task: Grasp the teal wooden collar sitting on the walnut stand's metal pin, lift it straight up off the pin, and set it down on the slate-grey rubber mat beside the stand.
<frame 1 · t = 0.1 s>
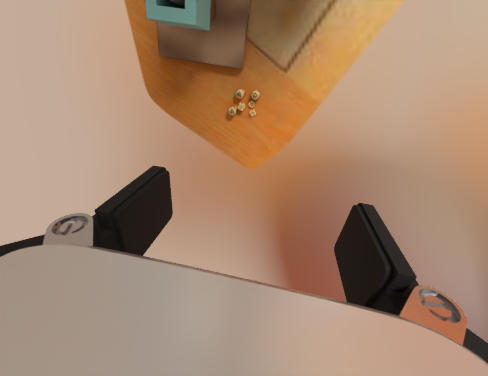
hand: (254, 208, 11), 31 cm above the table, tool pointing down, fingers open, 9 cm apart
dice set: (245, 100, 39), on the table
stand: (203, 9, 32), on the table
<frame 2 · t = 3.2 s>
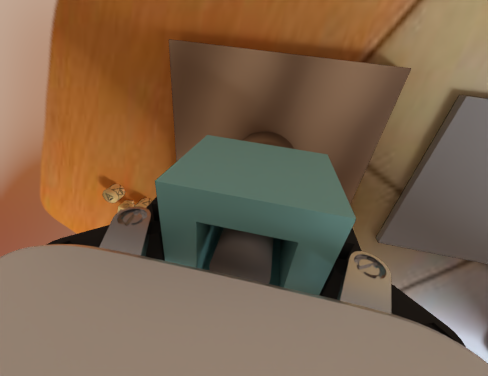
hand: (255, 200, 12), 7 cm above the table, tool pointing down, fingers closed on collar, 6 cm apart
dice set: (142, 204, 23), on the table
stand: (266, 156, 17), on the table
collar: (257, 194, 12), point 6 cm above the table, touching gripper, stand
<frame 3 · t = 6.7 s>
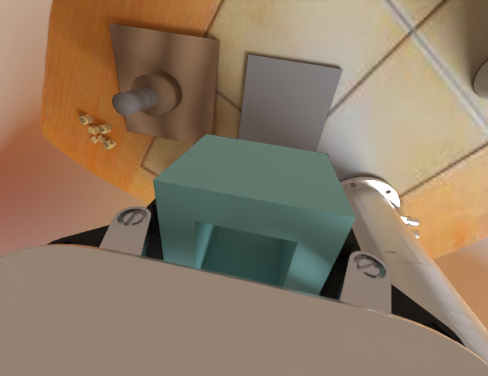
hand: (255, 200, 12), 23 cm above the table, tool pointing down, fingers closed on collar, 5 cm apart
mat: (283, 109, 31), on the table
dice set: (105, 130, 38), on the table
stand: (170, 90, 32), on the table
collar: (256, 194, 12), point 22 cm above the table, touching gripper
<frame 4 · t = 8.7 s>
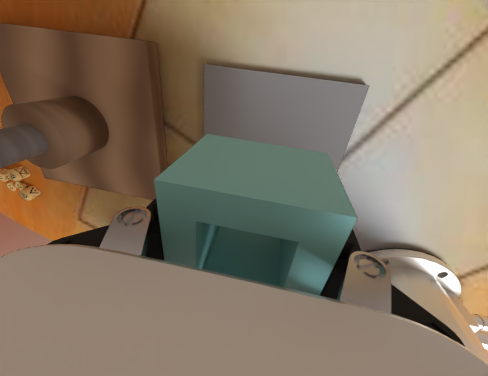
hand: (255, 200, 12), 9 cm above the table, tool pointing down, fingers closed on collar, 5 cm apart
mat: (270, 149, 19), on the table
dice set: (26, 173, 27), on the table
stand: (97, 121, 21), on the table
collar: (257, 194, 12), point 8 cm above the table, touching gripper
when the fingers open (3 cm above the table, at t = 10.4 s): collar drops 1 cm, resting on mat.
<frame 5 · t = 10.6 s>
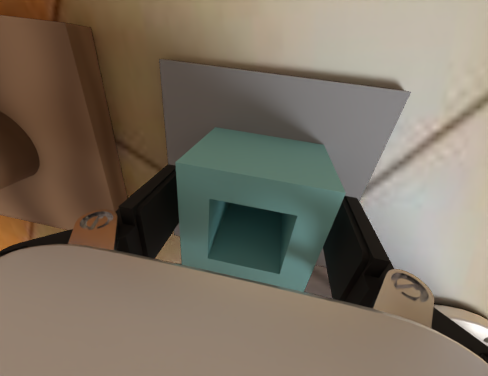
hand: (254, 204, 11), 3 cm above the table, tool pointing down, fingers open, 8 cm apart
mat: (260, 178, 14), on the table
stand: (28, 137, 15), on the table
collar: (260, 182, 13), point 1 cm above the table, touching mat
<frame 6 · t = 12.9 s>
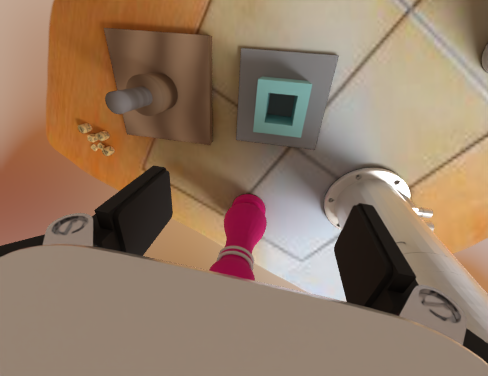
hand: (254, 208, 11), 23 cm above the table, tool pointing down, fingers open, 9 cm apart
mat: (281, 102, 30), on the table
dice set: (104, 137, 39), on the table
pepper mill: (249, 207, 40), on the table
stand: (166, 90, 32), on the table
collar: (281, 102, 29), point 1 cm above the table, touching mat
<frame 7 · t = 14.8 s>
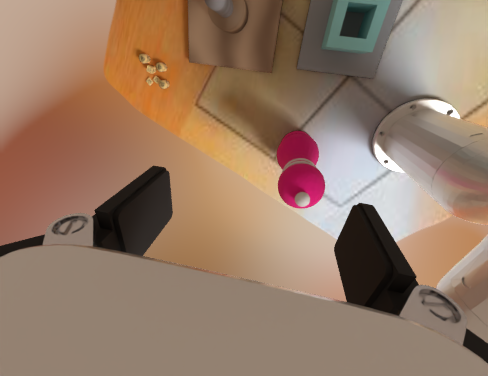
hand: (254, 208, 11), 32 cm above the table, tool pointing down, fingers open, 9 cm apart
mat: (346, 27, 31), on the table
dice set: (160, 72, 40), on the table
pepper mill: (296, 146, 42), on the table
stand: (234, 15, 33), on the table
collar: (347, 26, 31), point 1 cm above the table, touching mat
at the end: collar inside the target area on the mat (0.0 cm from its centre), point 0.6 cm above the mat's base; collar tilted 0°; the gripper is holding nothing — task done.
